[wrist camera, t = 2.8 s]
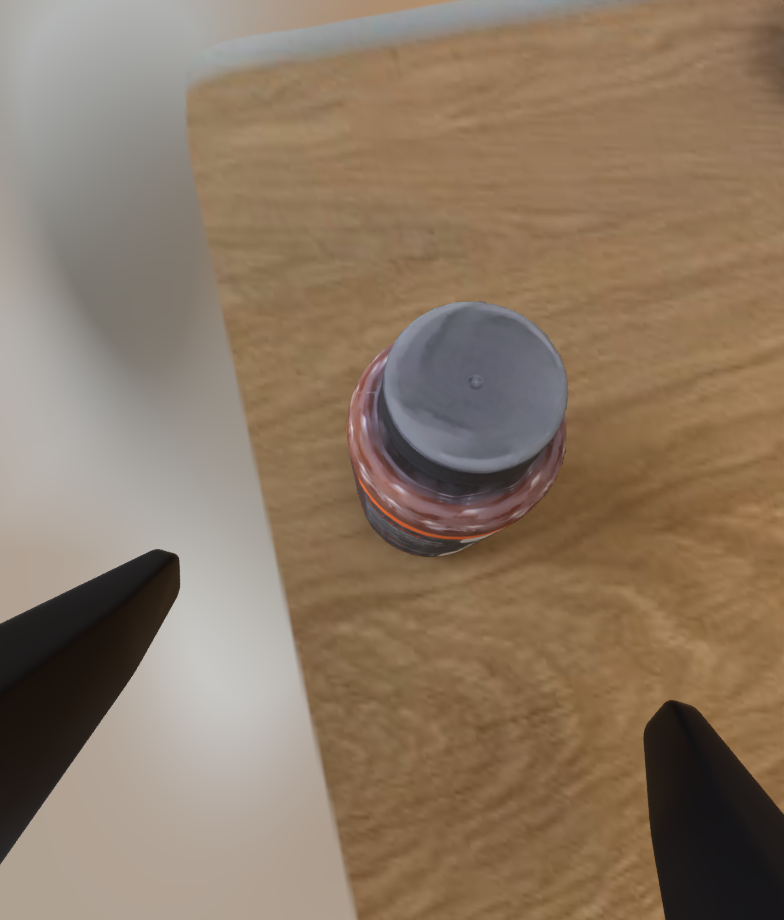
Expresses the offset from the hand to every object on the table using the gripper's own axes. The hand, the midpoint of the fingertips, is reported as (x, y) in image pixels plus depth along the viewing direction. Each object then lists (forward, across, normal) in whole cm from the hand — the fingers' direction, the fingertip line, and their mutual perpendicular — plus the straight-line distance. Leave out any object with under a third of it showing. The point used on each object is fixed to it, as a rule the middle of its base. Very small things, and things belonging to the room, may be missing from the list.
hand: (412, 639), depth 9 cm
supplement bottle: (+12, 0, +5) cm, 13 cm away
